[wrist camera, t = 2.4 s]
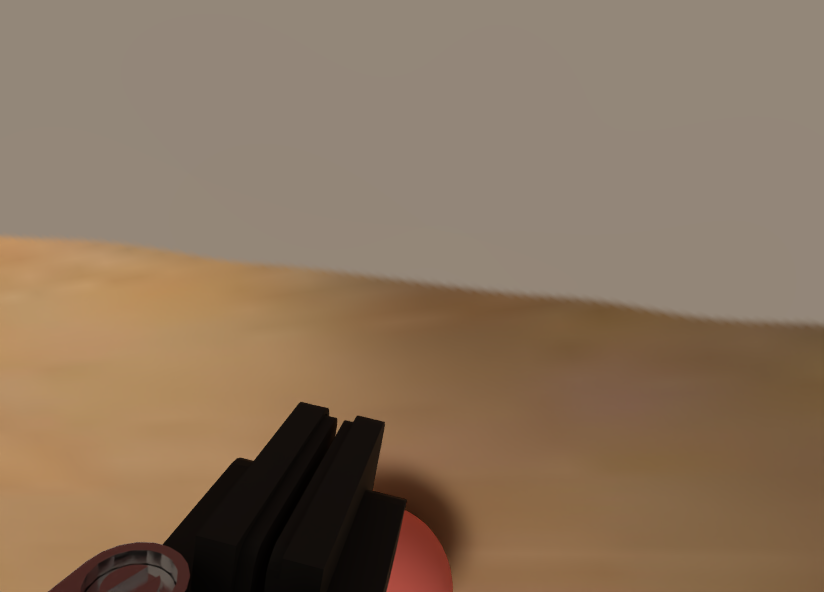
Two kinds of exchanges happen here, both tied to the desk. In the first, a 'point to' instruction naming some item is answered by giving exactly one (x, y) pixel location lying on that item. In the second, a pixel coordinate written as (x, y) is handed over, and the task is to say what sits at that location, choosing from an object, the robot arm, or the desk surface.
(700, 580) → the desk surface
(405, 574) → the ball
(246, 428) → the desk surface
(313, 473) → the robot arm
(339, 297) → the desk surface
